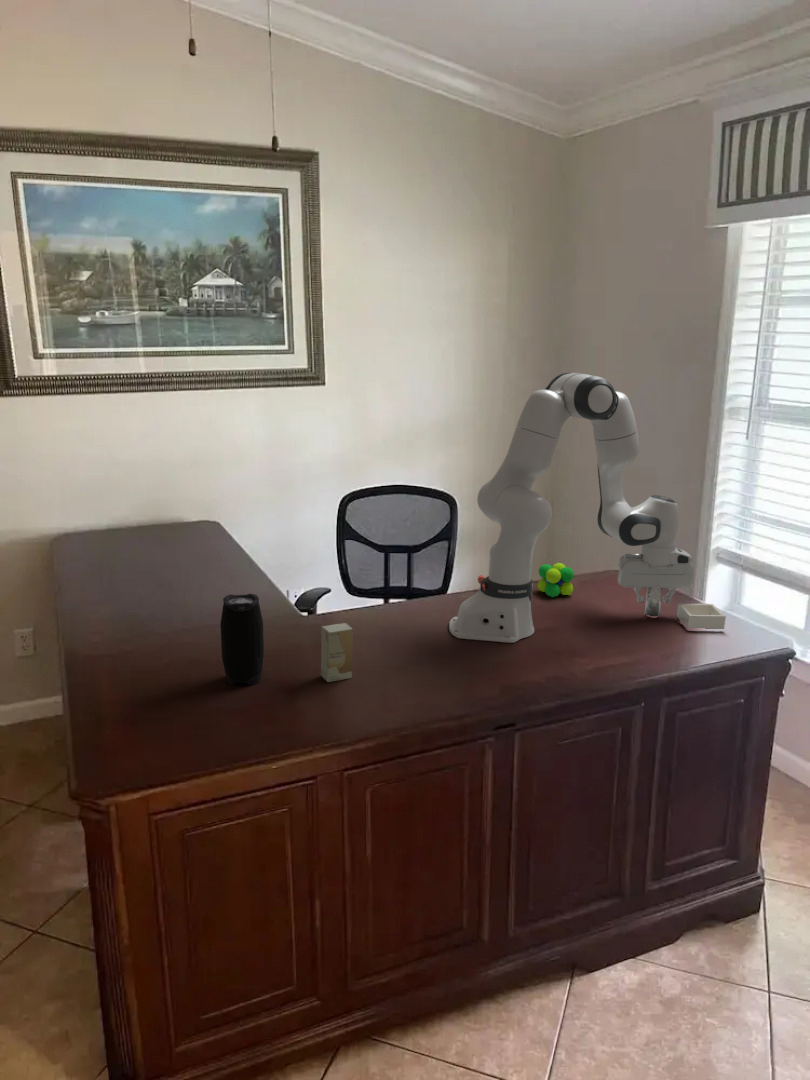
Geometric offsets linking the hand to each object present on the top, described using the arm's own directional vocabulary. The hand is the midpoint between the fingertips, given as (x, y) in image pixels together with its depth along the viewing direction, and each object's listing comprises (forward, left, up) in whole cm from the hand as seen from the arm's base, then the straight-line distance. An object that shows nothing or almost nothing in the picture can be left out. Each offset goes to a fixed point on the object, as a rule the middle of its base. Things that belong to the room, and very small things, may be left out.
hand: (653, 602), depth 240 cm
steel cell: (0, 0, -4) cm, 4 cm away
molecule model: (-24, +18, -4) cm, 30 cm away
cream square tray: (+11, -7, -4) cm, 14 cm away
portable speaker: (-106, -45, -4) cm, 115 cm away
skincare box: (-85, -43, -4) cm, 95 cm away
